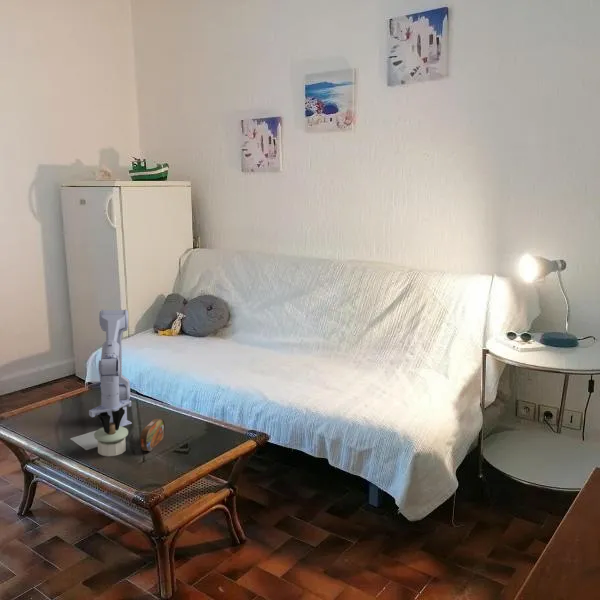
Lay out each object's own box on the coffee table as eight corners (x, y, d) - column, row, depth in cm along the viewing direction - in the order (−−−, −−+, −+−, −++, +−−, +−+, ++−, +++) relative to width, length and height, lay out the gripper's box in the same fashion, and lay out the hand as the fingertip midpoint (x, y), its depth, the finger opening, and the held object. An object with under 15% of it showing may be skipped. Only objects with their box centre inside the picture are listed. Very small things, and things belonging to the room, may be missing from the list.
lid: (87, 433, 200) (87, 423, 199) (117, 424, 208) (117, 414, 207) (104, 445, 193) (104, 434, 192) (134, 435, 201) (134, 424, 200)
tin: (147, 455, 199) (147, 432, 198) (138, 454, 200) (138, 431, 198) (166, 436, 214) (165, 415, 212) (157, 435, 215) (157, 414, 213)
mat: (69, 439, 209) (69, 438, 209) (101, 429, 217) (101, 428, 217) (86, 451, 201) (86, 450, 201) (118, 440, 209) (118, 439, 209)
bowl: (93, 450, 202) (92, 438, 201) (117, 442, 208) (116, 431, 207) (106, 460, 196) (106, 447, 195) (130, 451, 202) (130, 439, 201)
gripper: (95, 401, 189) (97, 441, 192) (135, 391, 200) (136, 428, 203) (85, 395, 194) (86, 434, 197) (124, 385, 205) (125, 422, 207)
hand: (111, 430), depth 200 cm, fingers closed on lid, 3 cm apart
